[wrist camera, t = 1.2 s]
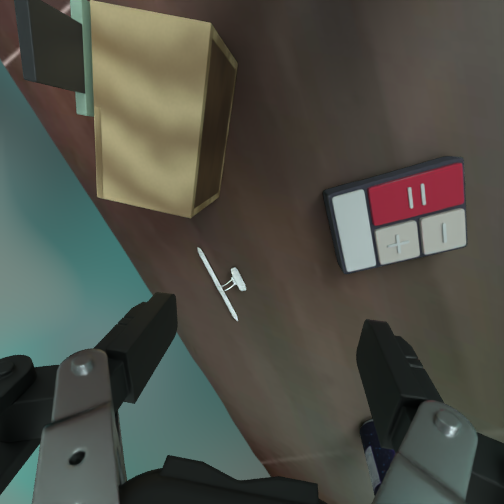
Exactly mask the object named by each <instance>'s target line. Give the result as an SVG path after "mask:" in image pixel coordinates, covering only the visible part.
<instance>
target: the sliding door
mask: <svg viewBox="0 0 504 504" xmlns="http://www.w3.org/2000/svg"><path fill="white" fill-rule="evenodd" d="M14 3H15V11H16V19H17V27H18V35H19V44H20V52H21V60H22V68H23V76H24V79H25V80H28V81H32V82H37V83H41V84H45V85H49V86H53V87H58V88H62V89H66V90H70V91H74V92H75V93H76V109H77V114H81V115H86V116H92V117H94V95H93V68H92V40H91V12H90V2H88V1H87V0H70V8H71V17H69V16H67V15H65V14H64V13H62V12H60V11H58V10H57V9H55V8H53V7H51V6H50V5H48V4H46V3H44V2H43V1H41V0H14Z"/></svg>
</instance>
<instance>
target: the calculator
mask: <svg viewBox="0 0 504 504" xmlns="http://www.w3.org/2000/svg"><path fill="white" fill-rule="evenodd" d="M323 197H324V202H325V207H326V211H327V216H328V220H329V225H330V230H331V234H332V239H333V243H334V248H335V253H336V257H337V262H338V264H339V266H340V268H341V270H342V271H343V273H344V274H350V273H354V272H359V271H363V270H367V269H372V268H376V267H381V266H385V265H389V264H394V263H398V262H402V261H407V260H411V259H416V258H420V257H424V256H429V255H433V254H438V253H442V252H446V251H451V250H455V249H460V248H464V247H466V246H467V222H466V199H465V176H464V159H463V158H462V157H452V156H445V157H441V158H437V159H434V160H431V161H427V162H424V163H420V164H417V165H413V166H410V167H406V168H403V169H399V170H396V171H392V172H389V173H385V174H382V175H378V176H375V177H371V178H368V179H364V180H361V181H356V182H351V183H347V184H344V185H340V186H337V187H333V188H330V189H327V190H324V191H323Z"/></svg>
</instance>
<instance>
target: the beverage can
mask: <svg viewBox="0 0 504 504" xmlns="http://www.w3.org/2000/svg"><path fill="white" fill-rule="evenodd" d="M360 436H361V440H362V444H363V448H364V453H365V457H366V461H367V465H368V469H369V474H370V478H371V482H372V486H373V490H374V495H375V496H376V493H377V491H378V489H379V487H380V485H381V483H382V481H383V479H384V477H385V475H386V473H387V471H388V468H389V466H390V464H391V462H392V460H393V458H394V456H395V451H394V450H392V449H386V448H381V446H380V442H379V439H378V435H377V432H376V428H375V425H374V421H373V419H371V420H368V421H366V422H365V423H364V424H363V425H362V427H361V428H360Z"/></svg>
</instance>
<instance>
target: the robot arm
mask: <svg viewBox="0 0 504 504" xmlns="http://www.w3.org/2000/svg"><path fill="white" fill-rule="evenodd" d="M176 331H177V306H176V296H175V295H174V294H168V293H160V292H157V293H155V294H154V295H153V296H152V298H151V299H150V300H149V301H148V302H142V303H141V304H138V305H137V306H135V307H133V308H132V309H131V310H130V311H129V312H128V313H127V314H126V315H125V316H124V318H122V319H121V320H120V321H119V322H118V325H117V324H116V325H115V327H113V329H112V330H111V331H110V332H109V333H108V334H107V335H106V336H105V337H104V338H103V339H102V340H101V341H100V342H99V343H98V344H97V345H96V346H95V347H94V348H93V349H85V350H82V351H79V352H76V353H74V354H72V355H70V356H69V357H67V358H66V359H65V360H64V361H63V362H62V363H61V364H60V365H52V366H43V367H34V365H33V363H32V360H31V358H30V357H28V356H25V355H13V356H9V357H5V358H2V359H0V495H1V494H2V492H3V491H4V490H5V488H6V487H7V486H8V484H9V483H10V482H11V480H12V479H13V478H14V477H15V475H16V474H17V473H18V471H19V470H20V469H21V468H22V466H23V465H24V464H25V462H26V461H27V460H28V458H29V457H30V456H31V454H32V453H33V452H34V451H35V449H36V448H37V447H38V445H39V444H40V450H39V457H38V464H37V471H36V478H35V485H34V492H33V499H32V504H327V503H326V502H324V501H322V500H320V499H319V498H318V485H317V484H316V483H311V482H306V481H301V480H295V479H290V478H285V477H280V476H278V477H269V478H260V479H251V480H236V479H234V478H232V477H230V476H228V475H227V474H225V473H223V472H221V471H219V470H217V469H215V468H214V467H212V466H210V465H208V464H206V463H204V462H201V461H196V460H191V459H186V458H181V457H176V456H170V455H168V456H167V458H166V461H165V463H164V465H163V468H160V469H155V470H151V471H147V472H145V473H142V474H140V475H138V476H135V477H134V478H132V479H130V480H128V481H127V477H126V471H125V464H124V456H123V447H122V439H121V430H120V422H119V414H118V409H119V407H120V406H121V404H122V403H123V402H128V403H134V404H135V402H136V401H137V399H138V397H139V396H140V394H141V392H142V391H143V389H144V387H145V386H146V384H147V382H148V380H149V379H150V377H151V376H152V374H153V372H154V370H155V369H156V367H157V366H158V364H159V362H160V361H161V359H162V357H163V356H164V354H165V352H166V351H167V349H168V347H169V346H170V344H171V342H172V340H173V339H174V337H175V335H176ZM356 360H357V366H358V369H359V373H360V376H361V380H362V383H363V387H364V390H365V394H366V397H367V401H368V404H369V407H370V411H371V414H372V418H373V421H374V425H375V428H376V432H377V435H378V439H379V442H380V446H381V448H386V449H392V450H394V451H395V456H394V458H393V460H392V462H391V464H390V466H389V468H388V471H387V473H386V475H385V477H384V479H383V481H382V483H381V485H380V487H379V489H378V491H377V493H376V496H375V498H374V500H373V502H372V504H504V443H501V442H499V441H496V440H494V439H492V438H489V437H487V436H484V435H482V434H480V433H478V432H476V430H475V428H474V427H473V425H472V424H471V423H470V421H469V420H468V419H467V418H466V417H465V416H464V415H463V414H461V413H460V412H459V411H457V410H456V409H454V408H453V407H451V406H449V405H447V404H445V403H444V402H443V400H442V398H441V397H440V395H439V393H438V391H437V390H436V388H435V386H434V384H433V383H432V381H431V379H430V378H429V376H428V374H427V372H426V371H425V369H423V365H422V364H421V362H420V360H418V357H417V355H416V353H415V352H414V350H413V348H412V346H410V345H409V344H408V343H407V342H406V341H405V340H404V339H403V338H402V337H401V336H394V334H393V332H392V330H391V328H390V326H389V324H388V323H387V322H385V321H377V320H369V319H366V320H365V322H364V325H363V329H362V332H361V336H360V340H359V344H358V347H357V353H356Z"/></svg>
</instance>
